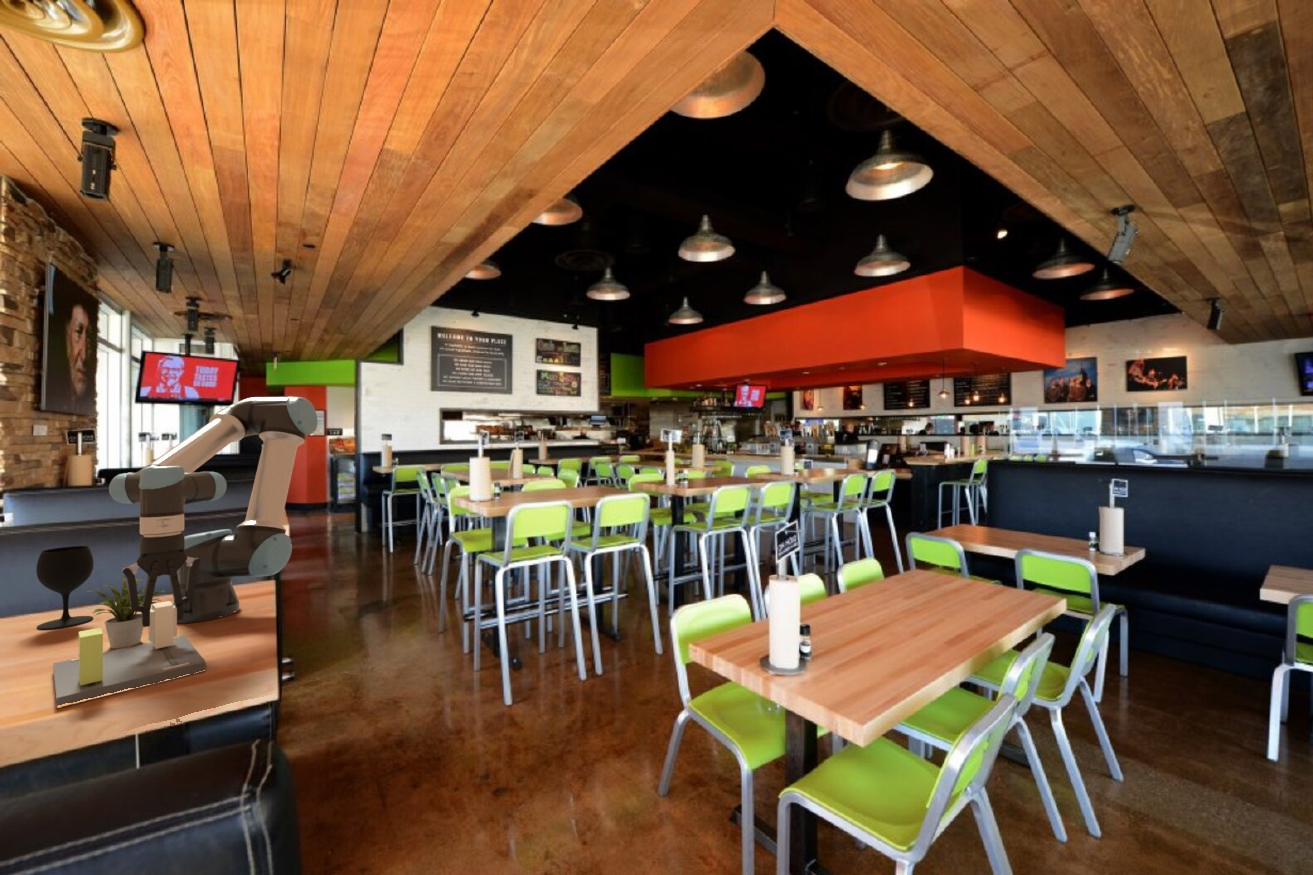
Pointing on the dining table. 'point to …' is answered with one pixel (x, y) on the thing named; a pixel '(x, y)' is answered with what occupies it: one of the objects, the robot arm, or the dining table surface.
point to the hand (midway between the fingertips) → (162, 637)
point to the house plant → (123, 617)
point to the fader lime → (90, 656)
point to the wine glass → (64, 579)
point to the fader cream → (163, 624)
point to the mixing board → (128, 670)
